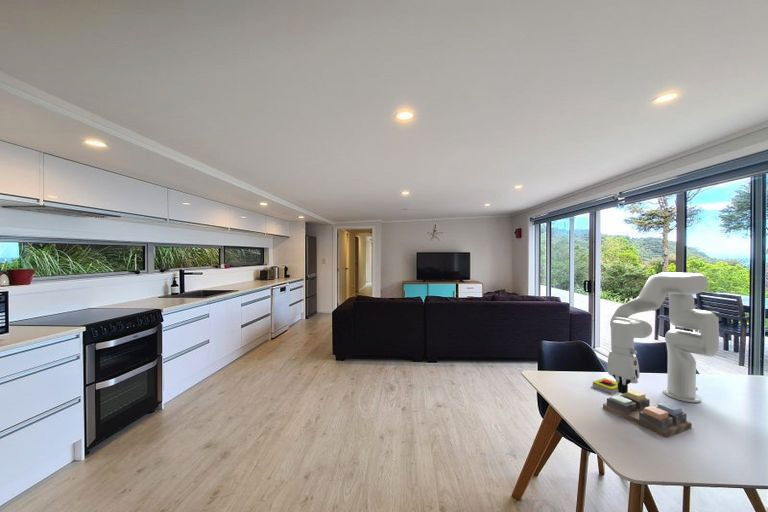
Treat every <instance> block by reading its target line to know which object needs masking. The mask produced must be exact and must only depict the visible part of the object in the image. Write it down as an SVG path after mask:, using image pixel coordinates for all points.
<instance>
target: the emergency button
mask: <svg viewBox="0 0 768 512" xmlns="http://www.w3.org/2000/svg"><path fill="white" fill-rule="evenodd" d="M590 389H593V390H594V391H598V392H600V393H603V394H606V395H608V396H613V395H616V394H618V393H619V392H618V383H617V382H616V380H612V379H608V378H606V377H605V378H600V379H598V380H595V381H594V380H593V381H592V386H591V387H590Z"/></svg>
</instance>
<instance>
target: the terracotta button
mask: <svg viewBox="0 0 768 512" xmlns="http://www.w3.org/2000/svg"><path fill="white" fill-rule="evenodd" d="M657 407H658V406H654V405H650V406H649V407H645V408H644V414H646V415H649V416H651V417H653V418H656V419H658V420H660V421H662V420H665V419H668V412H667V411H664V410H662V409H659V408H657Z"/></svg>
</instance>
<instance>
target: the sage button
mask: <svg viewBox="0 0 768 512" xmlns="http://www.w3.org/2000/svg"><path fill="white" fill-rule="evenodd" d="M611 400H613V401H616V402H618V403H620V404H623V405H628V404H631V403H632V400H629V399H627V398H624V397H622V396H620V395H619V394H618V395H614V396H611Z"/></svg>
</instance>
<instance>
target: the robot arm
mask: <svg viewBox="0 0 768 512" xmlns="http://www.w3.org/2000/svg"><path fill="white" fill-rule="evenodd" d="M708 285H709V282H708V278H707V277H706V276H705V275H703V274H702V273H693V272H675V271H673V272H672V271H671V272H670V271H665V272H659V273H658V274H653V275H650V276H649V278H648V279H647V280H646V282H645V284H644V285H643V287H642V288H641V290H640V292H639V293H638V296H637V297H636V298H633V299H631V300H629V301H627V302H625V303H623V304H622V305H619V307H617V309H616V310H615V311H614V313H613V315H612V316H611V319H610V320H609V327H610V350H609V352H608V357H607V371H608V372H607V374H608V375H610V376H612V377H613V378H614V381H615V382H617V383H618V392H619V393H620V394H624V393H627V392H628V390H629V387H628V386H629V385H630V384H638V383H639V381H638V379H640V366H639V360H638V357H637V354H638V351H637V350H635V345H634V344H635V343H634V341H635V339H645V338H648V337H649V336H651V335H652V334H653V333H652V332H653V327H652V325H651V324H650V323H649V322H648V321H645V320H641V319H636V318H633V317H631V316H633V315H637V314H640V313H644V312H651V311H656V310H658V309H660V308H661V307H662V305H663V303H664V302H665V300H666V298H667V297H668V316H669V317H668V318H669V322H670V324H671V325H672V326H674V327H677V328H683V329H684V330H682V329H677V328H676V329H675V328H674V329H669V330H668V331H666V333H665V336H664V337H665V338H664V341H665V344H666V351H667V376H666V377H667V384H666V386H667V387H665V388H663V389H662V392H663V394H664V395H666V396H667V397H670V398H672V399H675V400H679V401H682V402H686V403H693V404H695V403H700V402H701V397H700V396H698V395H697V392H696V391H699V388H698V386H697V361H696V359H695V357H694V356H693V354H695V355H699V356H702V357H709V358H712V357H715V356H717V354H718V353H719V350H720V330H719V329H720V323H719V319H718V317H717V315H716V313H714V312H712V311H708V310H705V309H703V310H702V309H696V307H695V298H694V295H695V294H700V293H702V292H705V291H706V289H707V288H708ZM685 329H686V330H685ZM687 329H688V330H692V331H688V330H687ZM693 331H698V332H699V333H698V332H693Z"/></svg>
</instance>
